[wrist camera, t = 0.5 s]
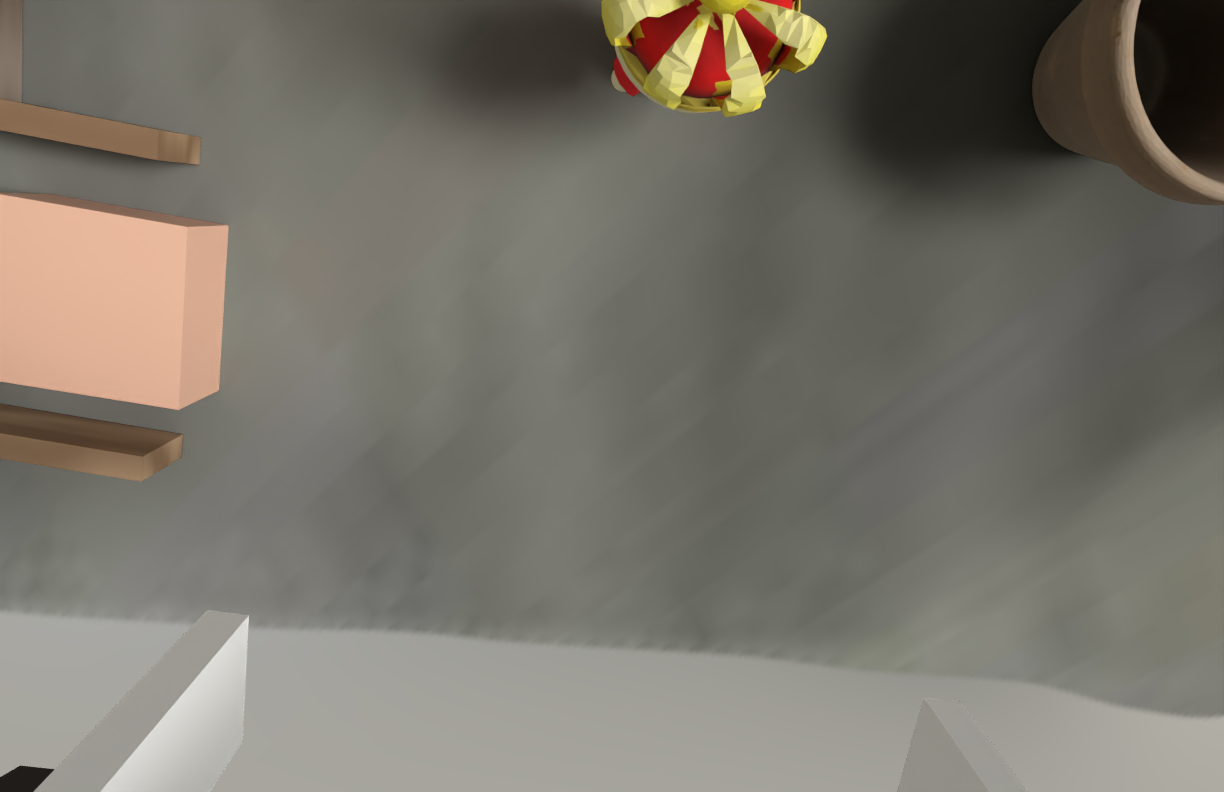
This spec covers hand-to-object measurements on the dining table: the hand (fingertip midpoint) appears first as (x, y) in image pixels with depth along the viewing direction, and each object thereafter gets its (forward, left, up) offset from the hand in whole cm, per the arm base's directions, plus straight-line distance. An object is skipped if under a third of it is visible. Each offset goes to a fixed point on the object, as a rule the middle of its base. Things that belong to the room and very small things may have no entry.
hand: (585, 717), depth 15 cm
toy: (-17, +1, -24) cm, 29 cm away
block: (-1, -22, -24) cm, 33 cm away
